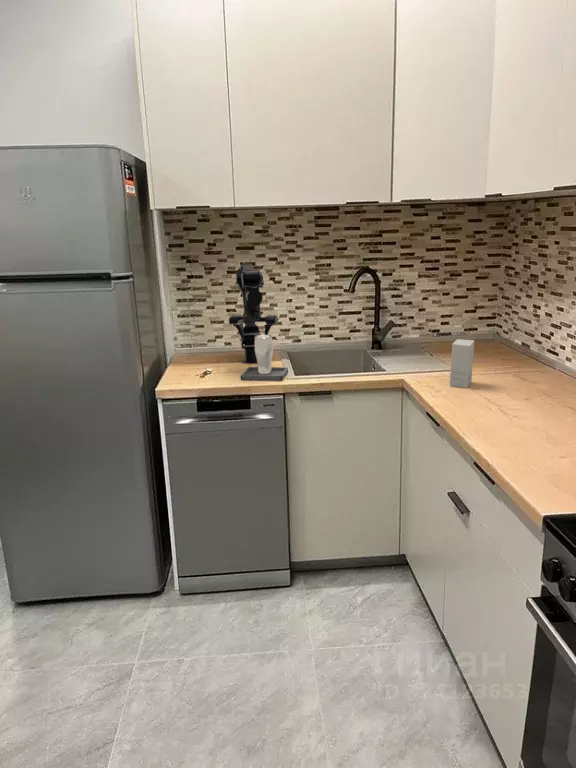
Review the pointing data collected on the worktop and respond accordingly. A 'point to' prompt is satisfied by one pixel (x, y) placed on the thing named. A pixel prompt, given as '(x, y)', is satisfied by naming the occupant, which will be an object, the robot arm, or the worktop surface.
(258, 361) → the beer glass
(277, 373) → the drip tray
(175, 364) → the worktop surface
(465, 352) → the skincare box
